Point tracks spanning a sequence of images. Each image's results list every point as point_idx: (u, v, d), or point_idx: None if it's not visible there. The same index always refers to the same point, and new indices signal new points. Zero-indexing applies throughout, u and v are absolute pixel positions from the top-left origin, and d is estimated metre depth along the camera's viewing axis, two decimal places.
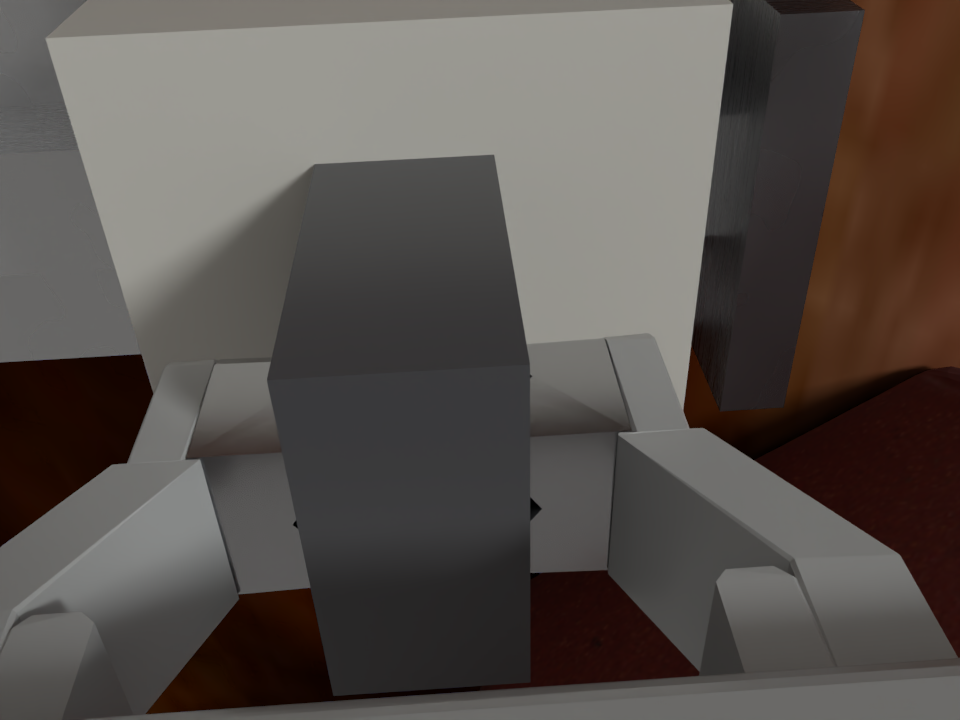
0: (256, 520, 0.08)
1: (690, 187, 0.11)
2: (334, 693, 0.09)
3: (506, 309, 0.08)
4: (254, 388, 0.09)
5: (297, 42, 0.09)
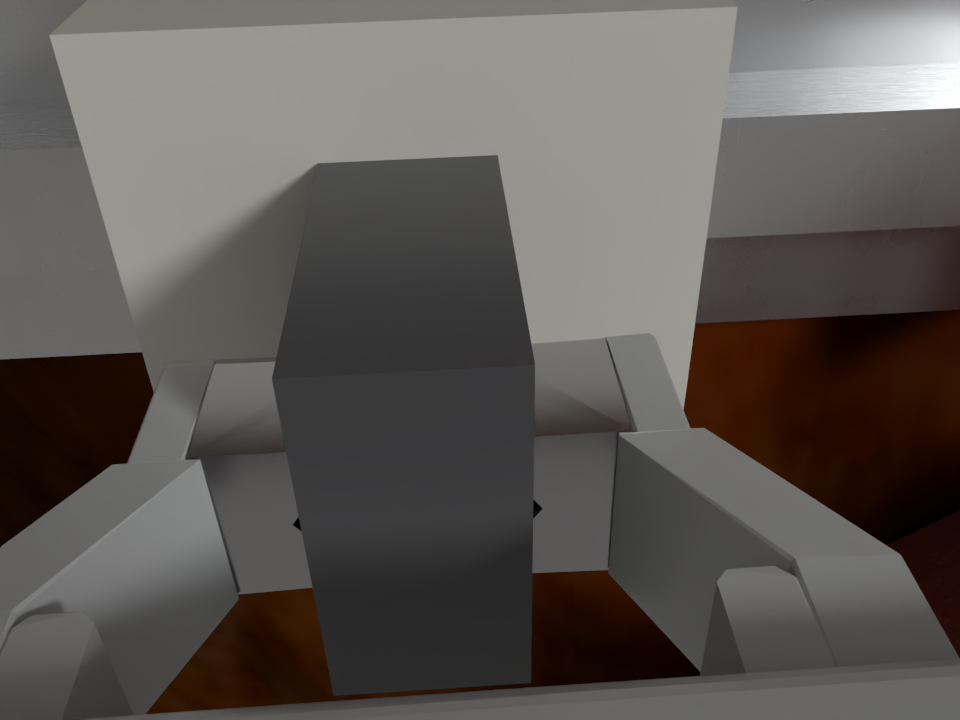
0: (256, 520, 0.08)
1: (693, 189, 0.11)
2: (333, 692, 0.09)
3: (511, 310, 0.08)
4: (254, 388, 0.09)
5: (301, 40, 0.09)
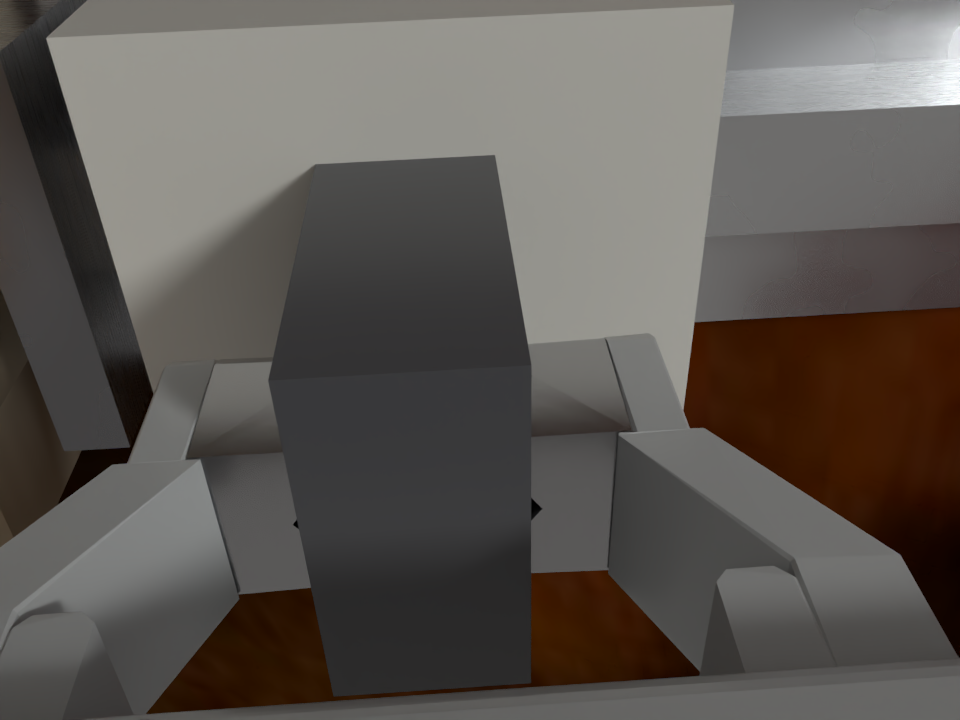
0: (256, 520, 0.08)
1: (690, 187, 0.11)
2: (333, 694, 0.09)
3: (508, 310, 0.08)
4: (254, 388, 0.09)
5: (297, 40, 0.09)
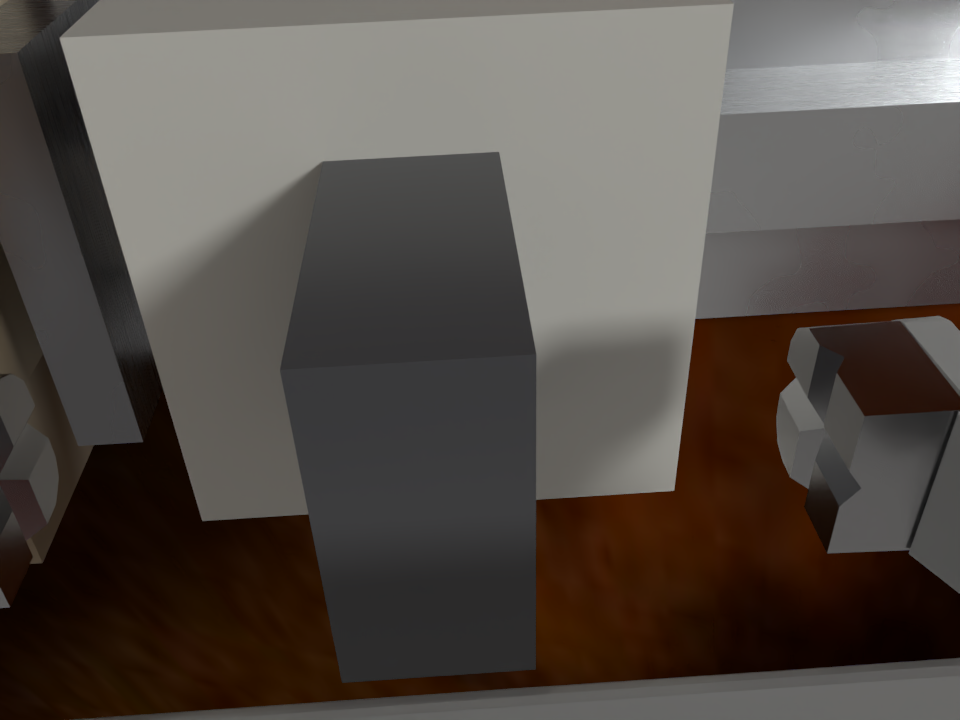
0: None
1: (690, 183, 0.11)
2: (342, 680, 0.09)
3: (512, 301, 0.08)
4: None
5: (305, 40, 0.10)
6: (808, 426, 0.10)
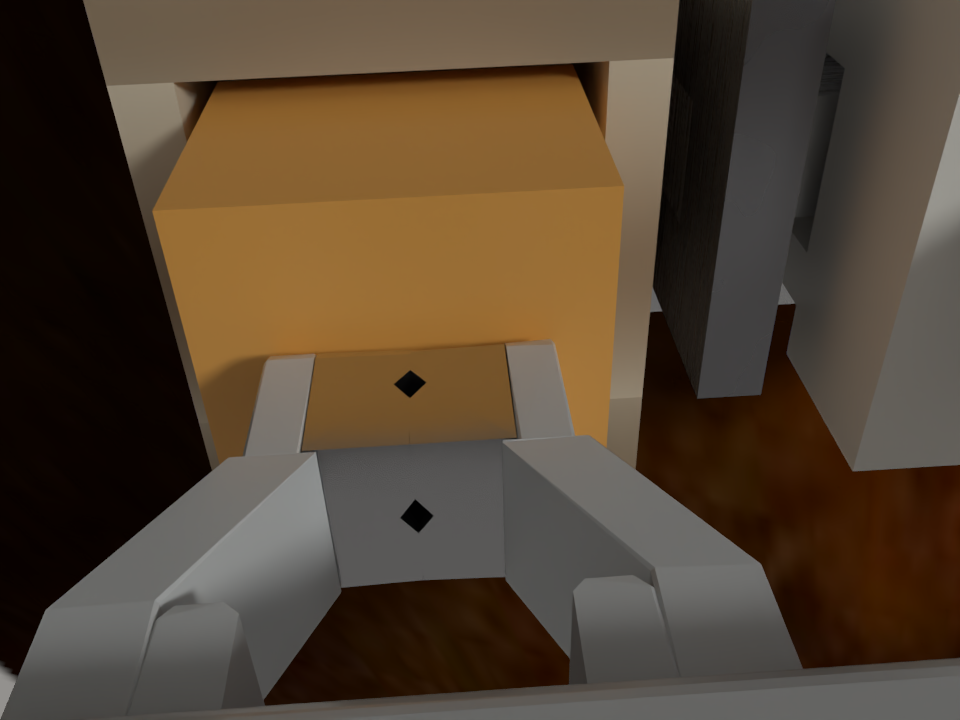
0: (365, 513, 0.08)
1: None
2: None
3: None
4: (359, 382, 0.09)
5: None
6: None
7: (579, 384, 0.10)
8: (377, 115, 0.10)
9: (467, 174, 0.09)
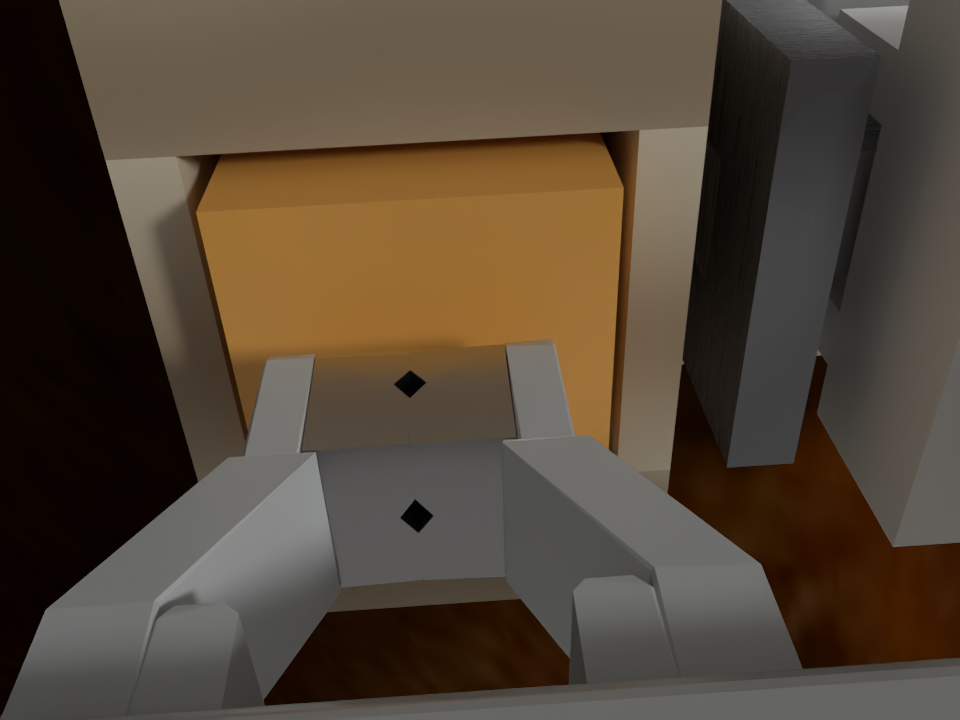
0: (365, 513, 0.08)
1: None
2: None
3: None
4: (359, 382, 0.09)
5: None
6: None
7: (584, 371, 0.11)
8: None
9: (481, 178, 0.10)
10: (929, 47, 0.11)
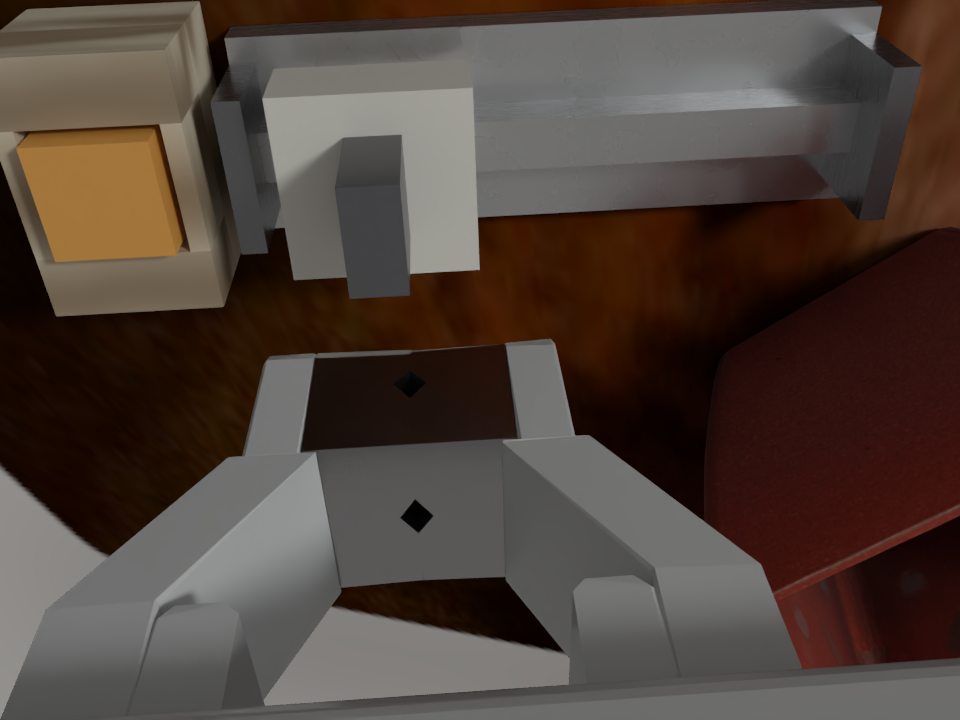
0: (365, 513, 0.08)
1: (467, 145, 0.32)
2: None
3: (396, 173, 0.29)
4: (359, 381, 0.09)
5: (338, 99, 0.31)
6: None
7: (153, 204, 0.32)
8: None
9: (107, 139, 0.31)
10: None
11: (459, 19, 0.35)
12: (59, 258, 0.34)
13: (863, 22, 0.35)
